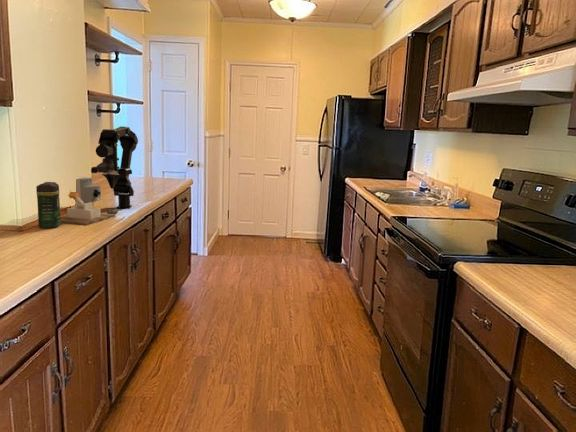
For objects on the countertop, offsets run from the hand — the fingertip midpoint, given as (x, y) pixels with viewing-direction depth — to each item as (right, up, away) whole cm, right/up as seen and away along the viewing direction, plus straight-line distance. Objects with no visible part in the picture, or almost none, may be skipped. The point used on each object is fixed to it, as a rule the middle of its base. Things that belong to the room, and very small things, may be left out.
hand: (112, 188), depth 217 cm
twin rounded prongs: (-4, -12, 0) cm, 13 cm away
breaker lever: (-7, -9, -14) cm, 19 cm away
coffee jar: (-15, -18, -29) cm, 37 cm away
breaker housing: (-8, -15, -13) cm, 21 cm away
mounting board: (-8, -15, -13) cm, 21 cm away
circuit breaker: (-18, -9, +13) cm, 24 cm away
